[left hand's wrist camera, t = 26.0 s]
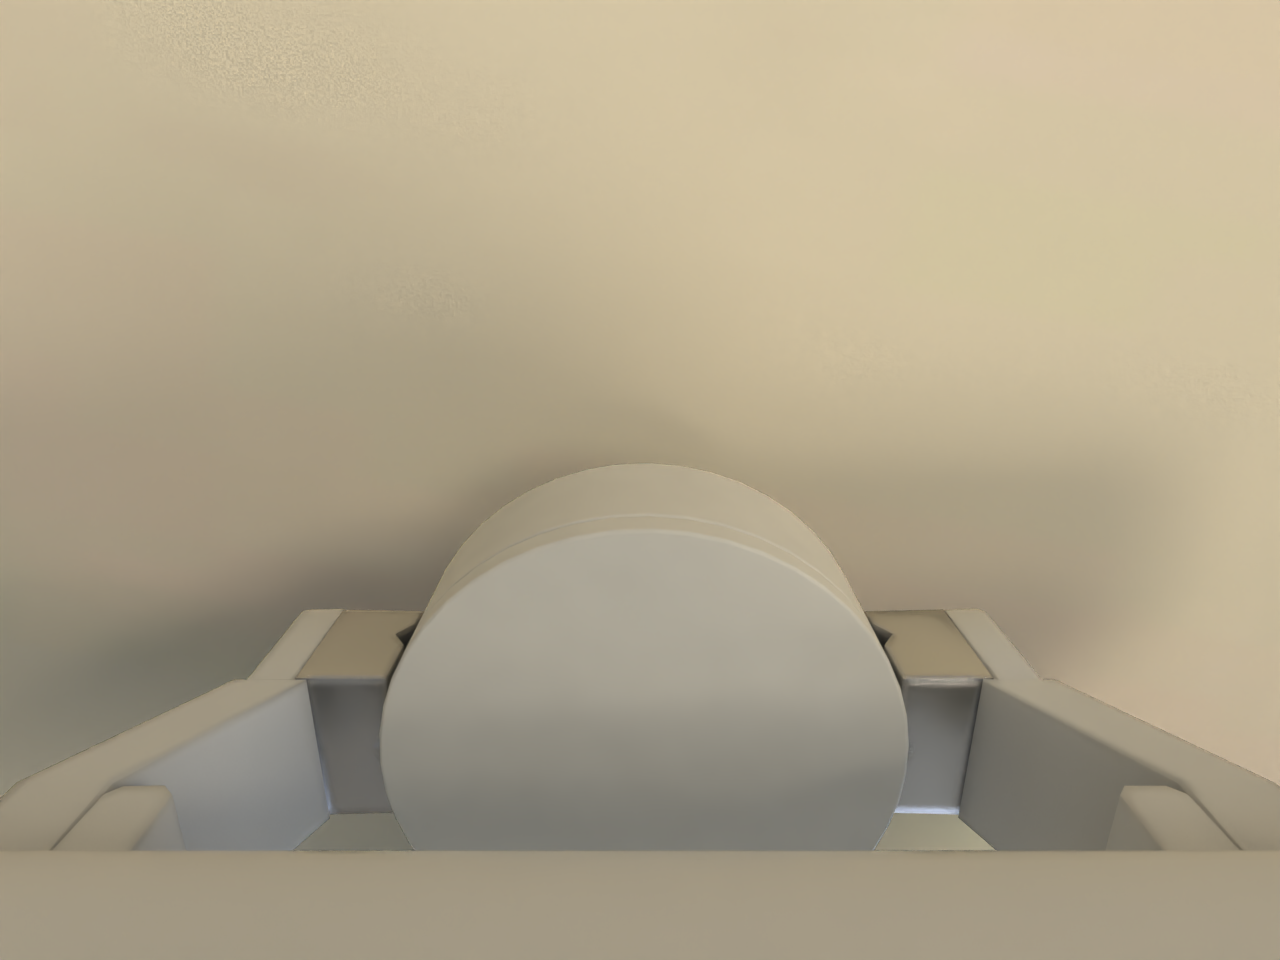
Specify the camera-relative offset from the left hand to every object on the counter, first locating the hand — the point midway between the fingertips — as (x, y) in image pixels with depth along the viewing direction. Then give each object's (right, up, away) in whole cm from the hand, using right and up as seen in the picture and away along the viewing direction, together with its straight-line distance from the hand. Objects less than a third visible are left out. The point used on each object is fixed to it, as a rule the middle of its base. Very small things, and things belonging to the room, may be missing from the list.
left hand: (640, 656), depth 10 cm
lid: (0, -1, -2) cm, 2 cm away
